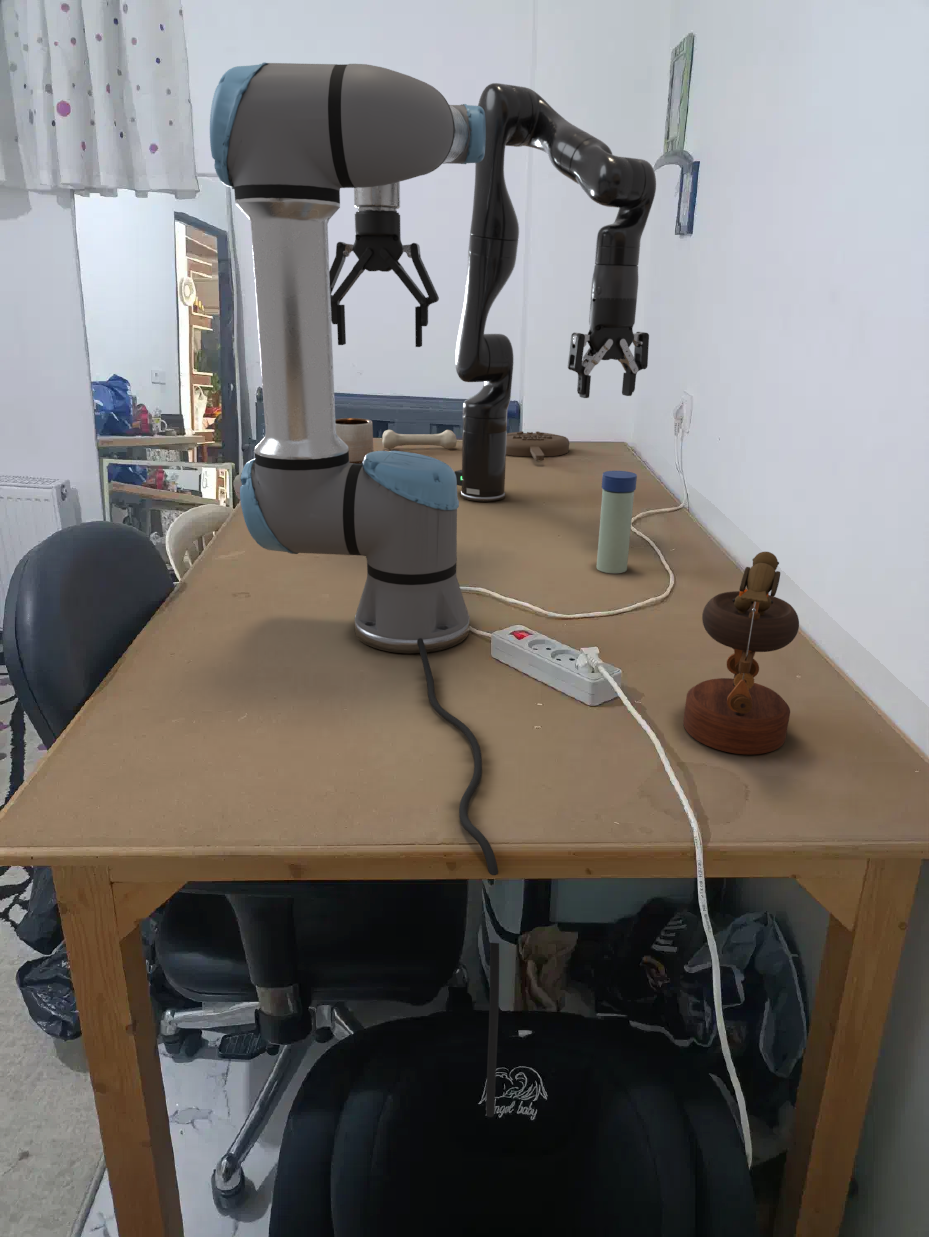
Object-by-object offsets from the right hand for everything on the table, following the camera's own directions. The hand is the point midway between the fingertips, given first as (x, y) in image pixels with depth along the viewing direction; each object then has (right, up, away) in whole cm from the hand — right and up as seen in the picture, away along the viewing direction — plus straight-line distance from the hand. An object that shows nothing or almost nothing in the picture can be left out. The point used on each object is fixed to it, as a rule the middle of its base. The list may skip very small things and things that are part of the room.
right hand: (605, 396), depth 145 cm
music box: (+5, -50, -54) cm, 74 cm away
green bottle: (0, -30, -6) cm, 31 cm away
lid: (0, -16, -12) cm, 20 cm away
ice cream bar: (-6, +5, +79) cm, 79 cm away
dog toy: (-36, +8, +84) cm, 92 cm away
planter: (-53, +2, +69) cm, 87 cm away
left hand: (-39, +10, +3) cm, 40 cm away
